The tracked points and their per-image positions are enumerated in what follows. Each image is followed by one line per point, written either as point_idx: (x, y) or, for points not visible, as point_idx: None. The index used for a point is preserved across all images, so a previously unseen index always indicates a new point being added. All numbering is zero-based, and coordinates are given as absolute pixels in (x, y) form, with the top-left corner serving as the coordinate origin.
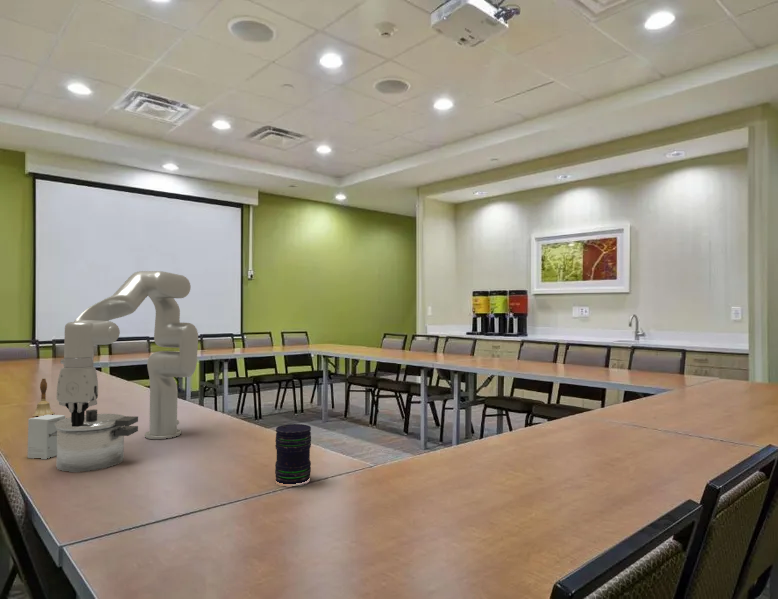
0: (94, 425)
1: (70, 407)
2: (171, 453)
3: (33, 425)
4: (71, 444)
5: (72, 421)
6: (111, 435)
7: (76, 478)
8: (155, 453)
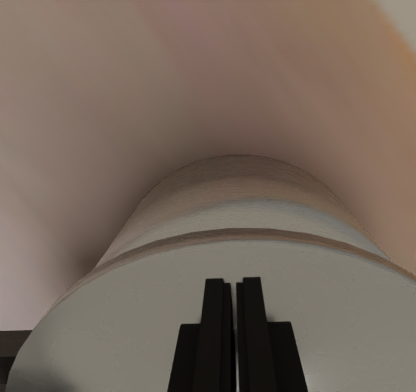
0: (82, 320)
1: None
2: None
3: None
4: (244, 197)
5: (256, 305)
6: None
7: (157, 77)
8: None
